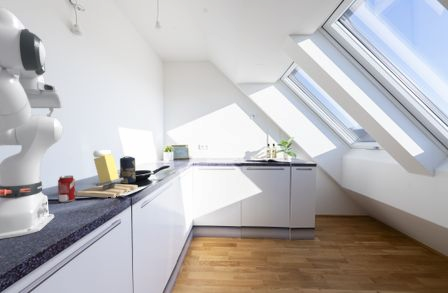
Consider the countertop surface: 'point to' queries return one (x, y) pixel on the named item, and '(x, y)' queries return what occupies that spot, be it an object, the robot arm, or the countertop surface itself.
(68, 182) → the soda can
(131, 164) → the canister
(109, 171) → the yellow boxy piece
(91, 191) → the wooden slatted trivet
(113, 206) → the countertop surface
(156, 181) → the countertop surface
